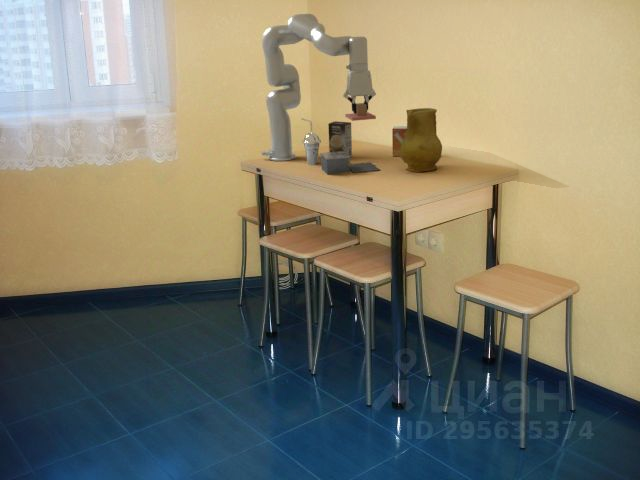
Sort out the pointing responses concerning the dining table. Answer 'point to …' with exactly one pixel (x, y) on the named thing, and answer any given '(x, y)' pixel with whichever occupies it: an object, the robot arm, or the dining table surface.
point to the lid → (360, 113)
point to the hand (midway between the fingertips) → (360, 111)
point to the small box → (398, 139)
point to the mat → (363, 167)
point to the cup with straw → (311, 146)
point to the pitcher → (421, 140)
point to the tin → (335, 162)
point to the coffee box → (340, 137)
